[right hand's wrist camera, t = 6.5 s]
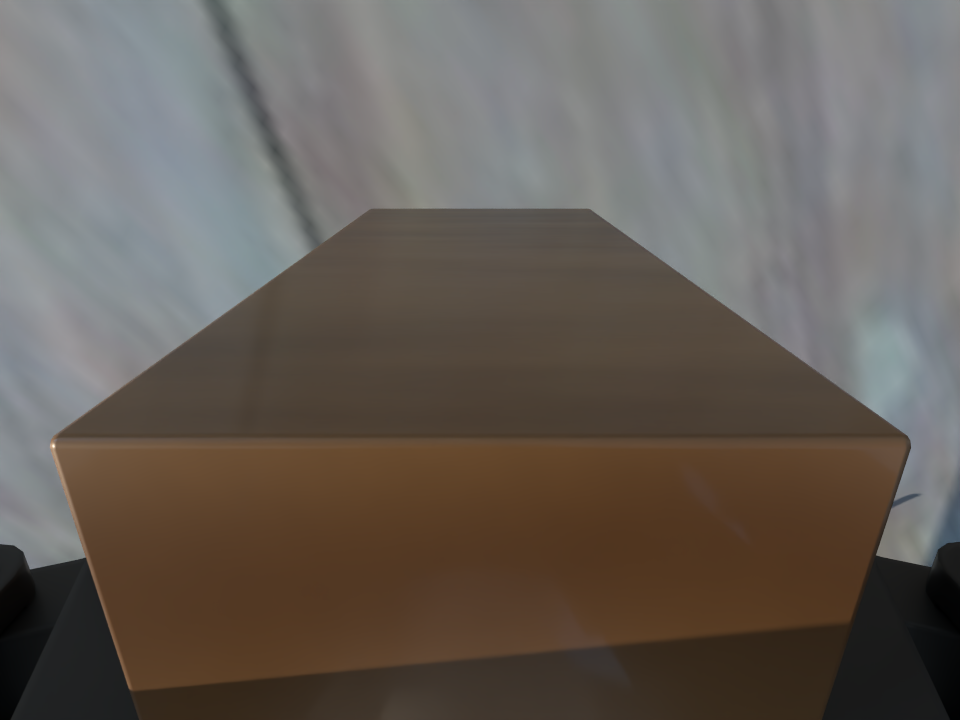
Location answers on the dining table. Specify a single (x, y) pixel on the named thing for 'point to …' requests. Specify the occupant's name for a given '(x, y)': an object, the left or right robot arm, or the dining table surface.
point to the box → (480, 491)
